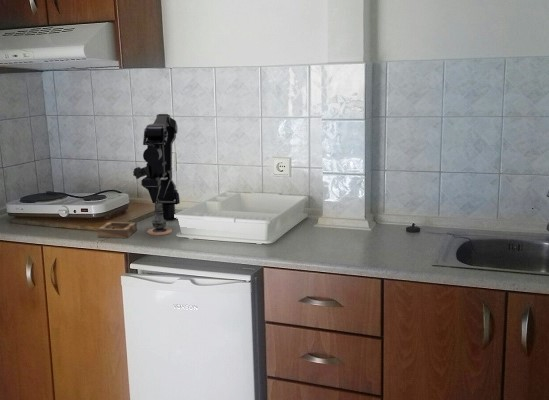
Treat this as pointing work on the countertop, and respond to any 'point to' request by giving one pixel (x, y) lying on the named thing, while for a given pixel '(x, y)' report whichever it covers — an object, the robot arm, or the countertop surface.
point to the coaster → (159, 232)
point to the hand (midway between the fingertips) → (158, 200)
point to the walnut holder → (117, 229)
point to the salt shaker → (159, 218)
